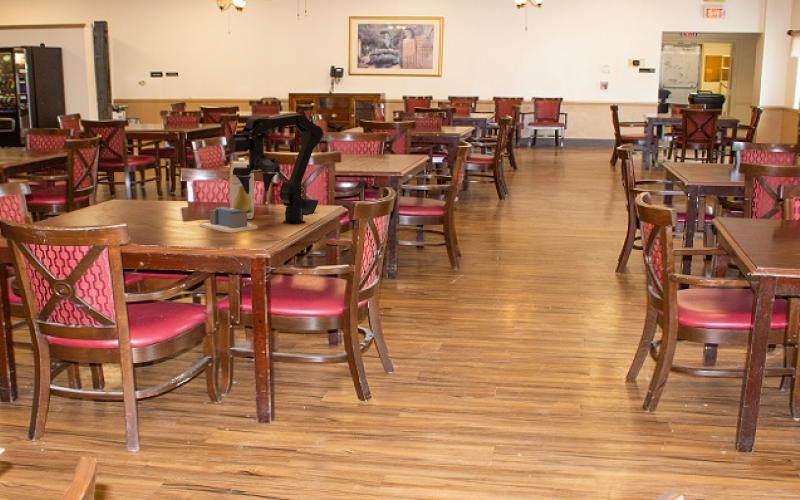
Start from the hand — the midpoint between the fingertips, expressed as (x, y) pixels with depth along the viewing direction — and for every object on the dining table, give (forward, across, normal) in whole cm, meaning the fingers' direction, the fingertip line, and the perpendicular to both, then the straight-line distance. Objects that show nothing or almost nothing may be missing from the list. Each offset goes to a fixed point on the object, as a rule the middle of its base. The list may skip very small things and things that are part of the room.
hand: (257, 192), depth 333 cm
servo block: (+12, -10, +5) cm, 16 cm away
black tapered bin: (+14, +35, +13) cm, 40 cm away
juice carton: (+13, +8, +19) cm, 24 cm away
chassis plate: (+13, -10, +5) cm, 17 cm away
